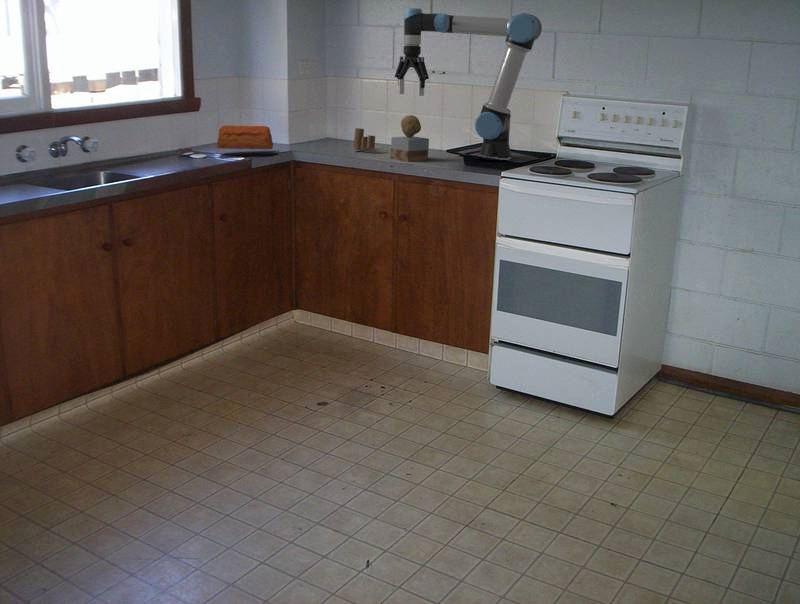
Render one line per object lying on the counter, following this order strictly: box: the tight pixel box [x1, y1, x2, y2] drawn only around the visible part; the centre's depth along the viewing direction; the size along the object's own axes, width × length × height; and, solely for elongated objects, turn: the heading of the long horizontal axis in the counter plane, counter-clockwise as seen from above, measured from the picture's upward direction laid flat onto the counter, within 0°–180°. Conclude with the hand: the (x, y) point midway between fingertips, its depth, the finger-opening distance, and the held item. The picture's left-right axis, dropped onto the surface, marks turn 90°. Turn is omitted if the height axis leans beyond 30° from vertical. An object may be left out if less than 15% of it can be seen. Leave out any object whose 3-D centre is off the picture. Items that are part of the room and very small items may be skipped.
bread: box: [216, 124, 274, 150], centre depth 428 cm, size 16×27×11 cm, turn 95°
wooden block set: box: [353, 127, 376, 151], centre depth 429 cm, size 18×9×10 cm, turn 20°
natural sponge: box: [400, 114, 422, 138], centre depth 395 cm, size 9×9×10 cm
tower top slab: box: [390, 135, 430, 151], centre depth 397 cm, size 12×12×5 cm
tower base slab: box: [390, 147, 429, 163], centre depth 399 cm, size 12×12×5 cm
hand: (410, 95), depth 391 cm, fingers open, 13 cm apart
